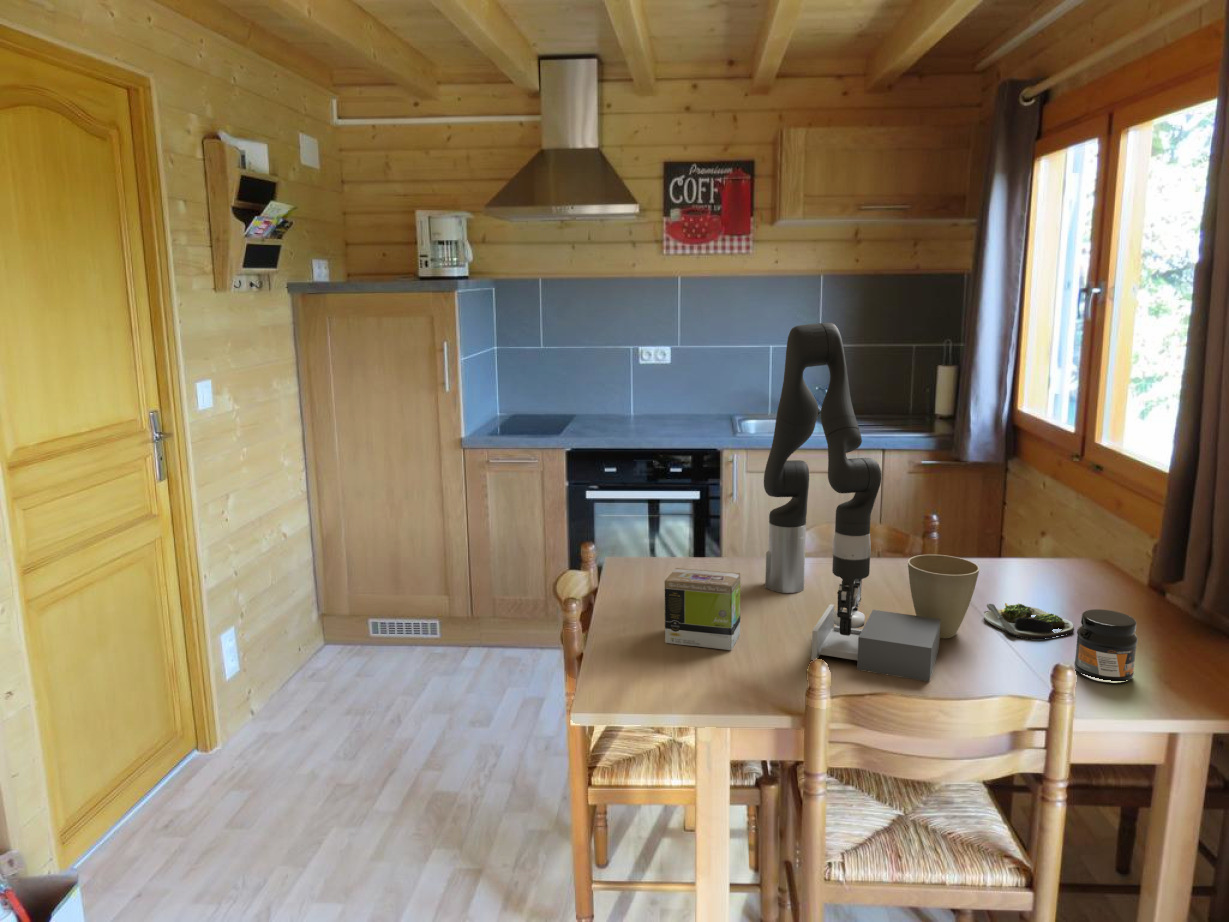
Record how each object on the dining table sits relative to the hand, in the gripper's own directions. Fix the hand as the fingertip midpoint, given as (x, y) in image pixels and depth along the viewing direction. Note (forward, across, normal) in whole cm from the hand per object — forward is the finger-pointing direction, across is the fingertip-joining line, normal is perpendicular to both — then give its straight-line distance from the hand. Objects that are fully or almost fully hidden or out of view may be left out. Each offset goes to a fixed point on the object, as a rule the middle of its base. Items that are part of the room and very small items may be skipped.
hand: (848, 628), depth 192 cm
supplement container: (+6, +9, -48) cm, 50 cm away
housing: (+5, 0, -10) cm, 12 cm away
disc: (-1, 0, 0) cm, 1 cm away
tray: (+5, 0, -1) cm, 5 cm away
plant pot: (+5, +19, -16) cm, 26 cm away
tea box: (+5, -6, +30) cm, 32 cm away
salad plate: (+6, +31, -34) cm, 47 cm away
